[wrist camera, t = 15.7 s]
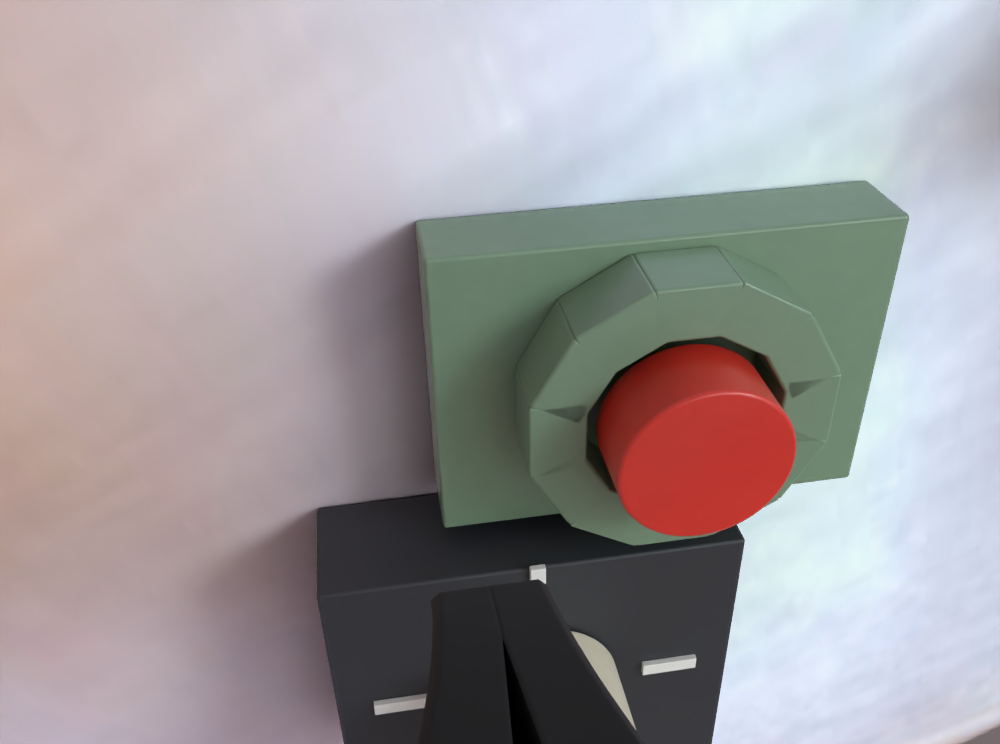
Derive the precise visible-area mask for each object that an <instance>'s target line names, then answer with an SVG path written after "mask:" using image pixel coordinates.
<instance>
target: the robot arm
mask: <svg viewBox="0 0 1000 744" xmlns="http://www.w3.org/2000/svg"><path fill="white" fill-rule="evenodd" d="M431 608H432V652H431V664H430V672H429V680H428V688H427V696H426V702H425V707H424V713H423V718H422V724H421V730H420V735H419V741H418V744H646V743H645V742H644V740H643V739H642V738H641V736H640V735H639V734H638V732H637V731H636V730H635V728H634V727H633V725H632V724H631V722H630V721H629V720H628V718H627V717H626V715H625V714H624V712H623V711H622V710H621V708H620V707H619V705H618V704H617V702H616V701H615V700H614V698H613V697H612V695H611V694H610V692H609V691H608V690H607V688H606V687H605V685H604V684H603V682H602V680H601V679H600V677H599V676H598V674H597V673H596V671H595V670H594V668H593V667H592V665H591V663H590V662H589V660H588V659H587V657H586V655H585V654H584V652H583V650H582V649H581V647H580V646H579V644H578V642H577V641H576V639H575V637H574V635H573V634H572V632H571V630H570V629H569V627H568V625H567V623H566V621H565V620H564V618H563V616H562V614H561V612H560V610H559V608H558V606H557V605H556V603H555V601H554V599H553V597H552V594H551V592H550V590H549V588H548V586H547V585H546V584H545V583H543V582H542V581H540V580H539V579H536V580H529V581H522V582H514V583H507V584H499V585H492V586H484V587H477V588H470V589H462V590H455V591H447V592H440V593H439V594H438V595H436V596H435V597H434V598H433V599H432V600H431Z"/></svg>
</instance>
